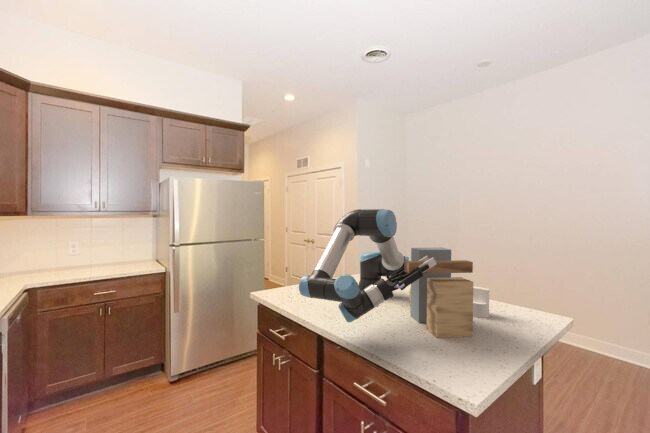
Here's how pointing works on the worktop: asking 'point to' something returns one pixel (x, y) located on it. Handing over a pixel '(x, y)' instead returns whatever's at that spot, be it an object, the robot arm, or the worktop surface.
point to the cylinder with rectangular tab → (480, 302)
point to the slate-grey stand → (425, 280)
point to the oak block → (450, 307)
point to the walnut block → (442, 266)
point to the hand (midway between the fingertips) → (431, 259)
